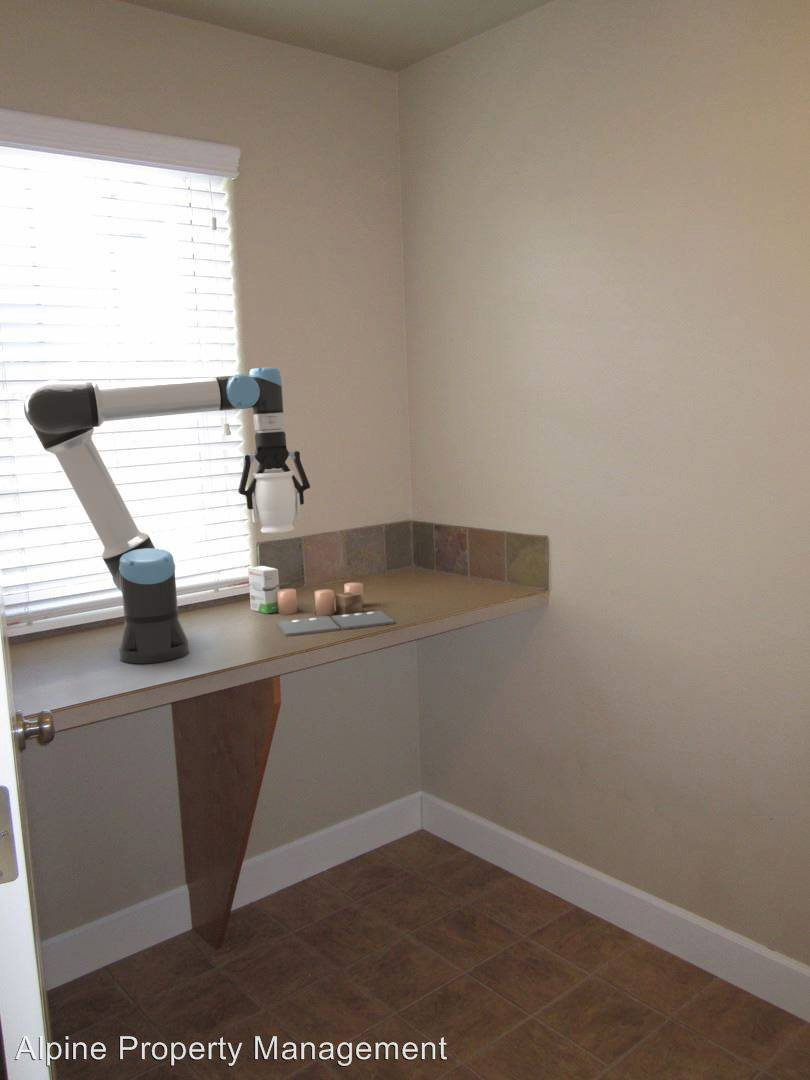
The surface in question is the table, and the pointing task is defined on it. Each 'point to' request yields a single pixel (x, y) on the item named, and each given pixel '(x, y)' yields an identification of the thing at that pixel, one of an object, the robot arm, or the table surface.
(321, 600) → the pink rounded piece
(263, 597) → the ink box
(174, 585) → the robot arm
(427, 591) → the table surface
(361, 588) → the pink rounded piece
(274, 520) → the jar
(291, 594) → the tan rounded block
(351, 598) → the walnut block
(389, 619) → the pad three
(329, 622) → the pad two
